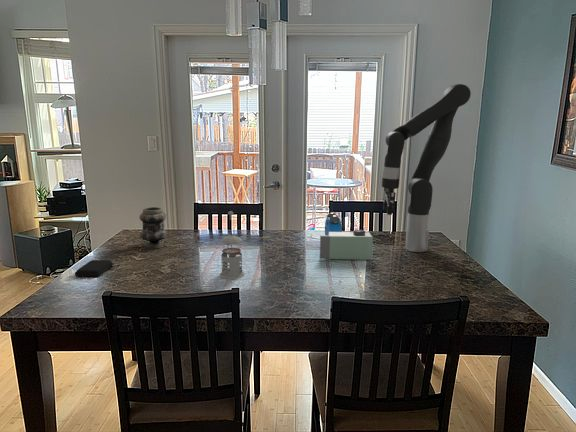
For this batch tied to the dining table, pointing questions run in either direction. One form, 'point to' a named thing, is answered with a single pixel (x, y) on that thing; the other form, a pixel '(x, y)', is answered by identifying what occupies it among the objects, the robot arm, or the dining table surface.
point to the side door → (346, 247)
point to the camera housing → (351, 234)
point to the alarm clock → (332, 224)
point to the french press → (231, 258)
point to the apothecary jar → (153, 227)
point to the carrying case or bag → (94, 268)
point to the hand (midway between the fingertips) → (387, 212)
